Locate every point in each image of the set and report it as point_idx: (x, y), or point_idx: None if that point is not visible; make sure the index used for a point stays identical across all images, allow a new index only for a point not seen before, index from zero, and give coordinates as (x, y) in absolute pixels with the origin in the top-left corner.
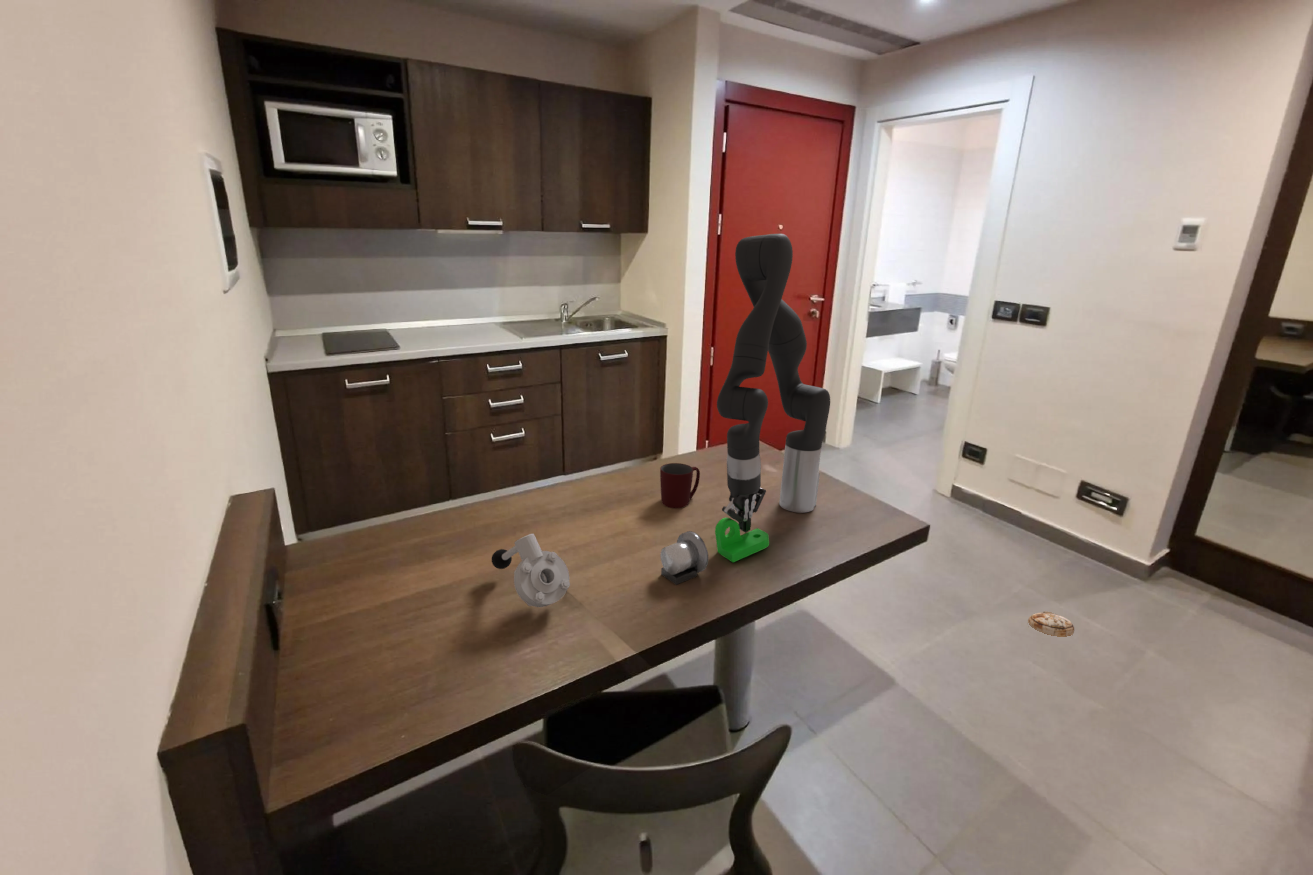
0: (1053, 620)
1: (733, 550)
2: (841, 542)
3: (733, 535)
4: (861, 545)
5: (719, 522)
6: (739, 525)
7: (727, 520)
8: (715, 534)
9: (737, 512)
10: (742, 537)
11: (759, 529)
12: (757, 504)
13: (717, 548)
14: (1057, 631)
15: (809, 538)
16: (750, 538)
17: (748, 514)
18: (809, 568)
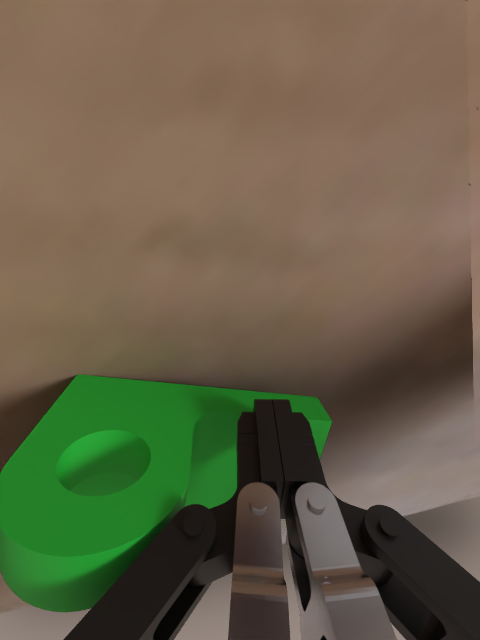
0: None
1: (90, 488)
2: (460, 464)
3: (137, 477)
4: (469, 486)
5: (10, 546)
6: (237, 444)
7: (62, 604)
8: (17, 450)
9: (233, 561)
10: (213, 434)
11: (325, 435)
12: (406, 632)
13: (66, 390)
14: None
15: (437, 423)
16: (229, 464)
17: (292, 562)
18: (281, 531)
